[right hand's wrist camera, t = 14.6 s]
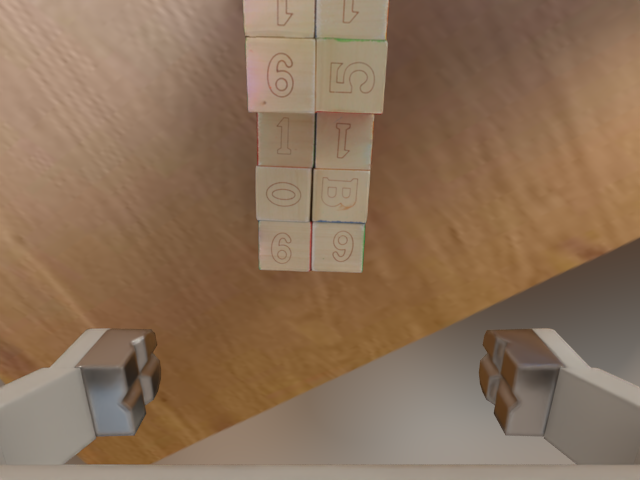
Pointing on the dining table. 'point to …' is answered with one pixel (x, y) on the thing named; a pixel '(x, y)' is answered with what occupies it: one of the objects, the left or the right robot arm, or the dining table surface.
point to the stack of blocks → (314, 126)
